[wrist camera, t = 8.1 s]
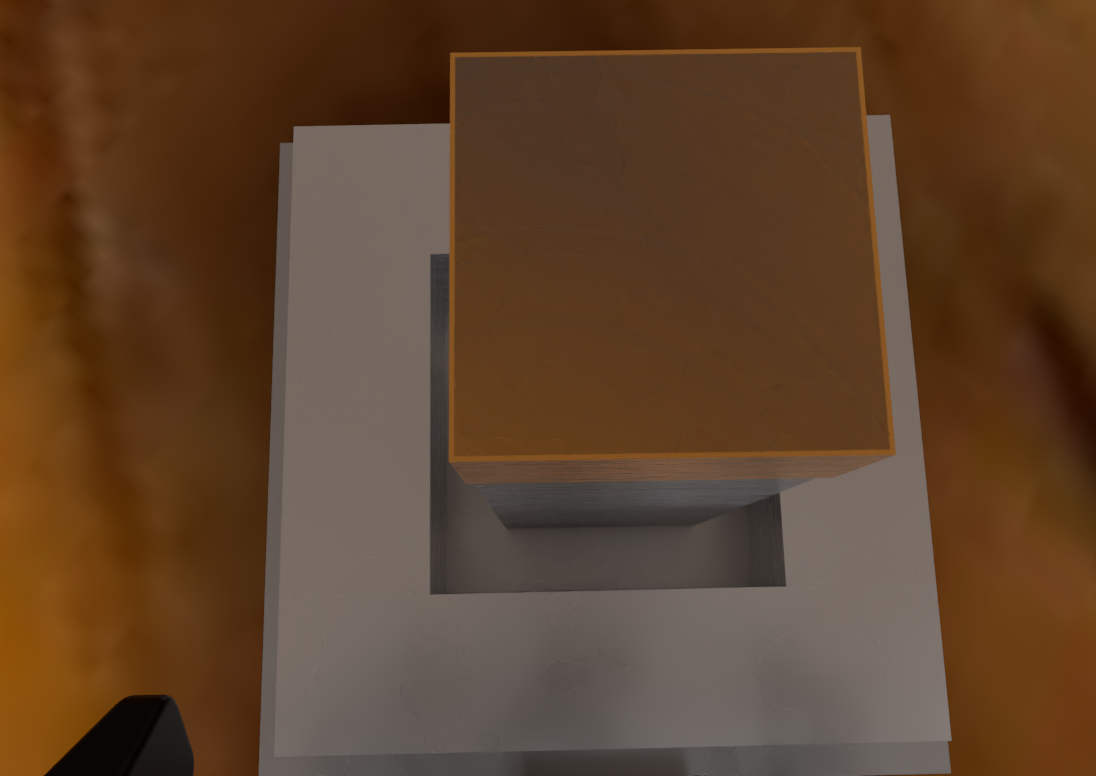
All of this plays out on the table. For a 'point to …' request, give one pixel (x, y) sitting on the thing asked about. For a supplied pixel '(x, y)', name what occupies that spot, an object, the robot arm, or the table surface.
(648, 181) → the grey square peg
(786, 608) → the grey socket base
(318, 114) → the table surface
